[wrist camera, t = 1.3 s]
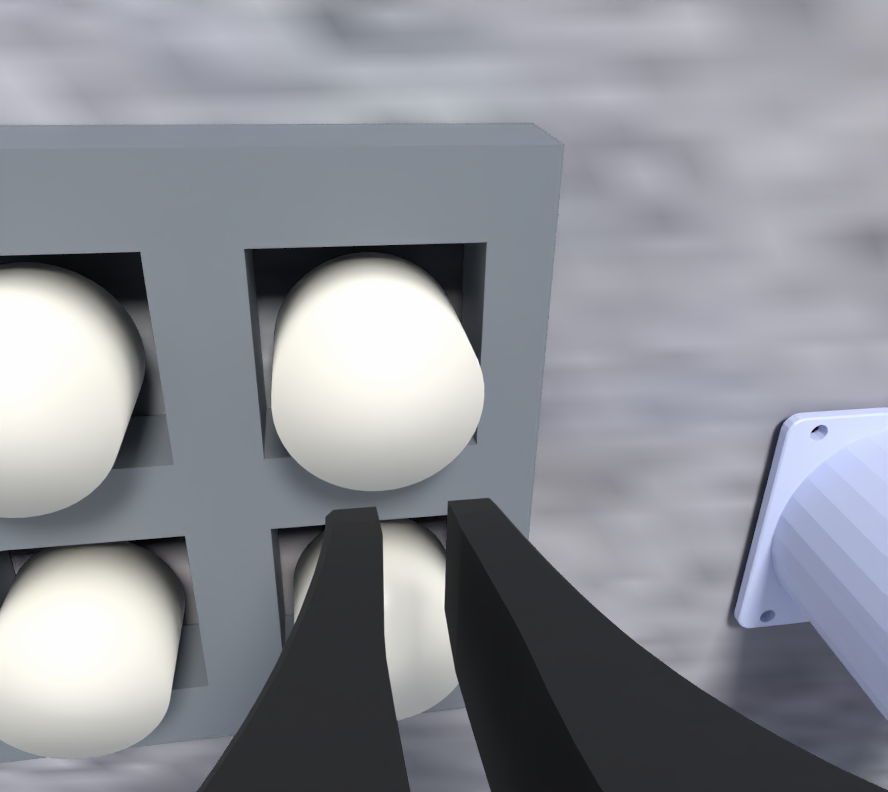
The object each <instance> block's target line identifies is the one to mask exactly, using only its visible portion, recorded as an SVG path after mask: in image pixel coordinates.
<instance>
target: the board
mask: <svg viewBox="0 0 888 792" xmlns="http://www.w3.org/2000/svg"><path fill="white" fill-rule="evenodd" d="M563 153H564V144H563V143H562V142H560V141H559V140H557V139H556V138H554V137H553V136H551V135H550V134H548V133H547V132H545V131H544V130H542V129H541V128H539V127H538V126H536V125H535V124H533V123H525V124H276V125H28V126H0V256H5V255H41V254H78V253H115V252H140V254H141V260H142V266H143V273H144V279H145V286H146V292H147V298H148V305H149V311H150V317H151V324H152V330H153V336H154V343H155V349H156V355H157V362H158V368H159V374H160V381H161V387H162V393H163V400H164V406H165V412H166V415H153V416H136V417H130V420H129V423H128V426H127V429H126V432H125V434H124V437H123V440H122V443H121V446H120V449H119V452H118V454H117V457H116V459H115V462H114V465H113V467H112V468H111V470H110V472H109V473H108V475H107V477H106V478H105V479H104V480H103V481H102V483H101V484H100V485H99V486H98V487H97V488H96V489H95V490H94V491H92V492H91V493H90V494H89V495H88V496H86V497H85V498H83V499H82V500H80V501H79V502H77V503H75V504H73V505H71V506H69V507H67V508H64V509H61V510H59V511H56V512H53V513H49V514H45V515H40V516H33V517H26V518H2V517H0V609H1V607H2V605H3V603H4V600H5V598H6V596H7V594H8V591H9V589H10V587H11V585H12V582H13V580H14V578H15V573H14V569H13V566H12V562H11V559H10V555H9V552H8V550H16V549H29V548H41V547H54V546H66V545H78V544H91V543H103V542H116V541H128V540H141V539H153V538H165V537H178V536H185V539H186V546H187V552H188V558H189V565H190V571H191V578H192V584H193V590H194V597H195V603H196V609H197V616H198V622H199V624H193V625H182V629H181V635H180V641H179V648H178V654H177V660H176V666H175V672H174V678H173V684H172V690H171V697H170V702H169V706H168V709H167V712H166V714H165V716H164V718H163V719H162V721H161V722H160V723H159V725H158V726H157V727H156V728H155V729H154V730H153V731H152V732H151V733H150V734H149V735H148V736H146V737H145V738H144V739H142V740H141V741H139V742H137V743H136V744H134V745H132V746H130V747H128V748H131V747H139V746H148V745H156V744H165V743H173V742H181V741H190V740H198V739H207V738H215V737H224V736H232V735H235V734H236V733H237V731H238V730H239V728H240V727H241V725H242V724H243V722H244V720H245V719H246V717H247V715H248V714H249V712H250V710H251V708H252V707H253V705H254V703H255V701H256V700H257V698H258V696H259V695H260V693H261V691H262V689H263V687H264V685H265V684H266V682H267V680H268V678H269V676H270V674H271V672H272V670H273V668H274V667H275V665H276V663H277V661H278V659H279V656H280V654H281V652H282V650H283V648H284V646H285V643H286V641H287V639H288V637H289V635H290V632H291V630H292V628H293V626H294V615H285V607H284V596H283V585H282V573H281V562H280V551H279V540H278V529H277V528H290V527H302V526H315V525H325V517H326V516H327V515H328V514H329V513H330V512H331V511H332V510H337V509H350V508H363V507H376V509H377V512H378V516H379V520H389V519H402V518H414V517H427V516H439V515H447V508H448V501H453V500H466V499H479V498H490V499H491V500H492V501H493V502H494V503H495V504H496V505H497V506H498V507H499V508H500V509H501V510H502V512H503V513H504V514H505V515H506V516H507V517H508V518H509V520H510V521H511V522H512V523H513V524H514V525H515V526H516V527H517V529H518V530H519V531H520V532H521V533H522V534H523V535H524V536H525V537H526V539H527V540H528V537H529V526H530V515H531V504H532V493H533V482H534V471H535V460H536V450H537V439H538V428H539V417H540V406H541V395H542V384H543V373H544V362H545V351H546V340H547V329H548V318H549V307H550V296H551V285H552V274H553V263H554V252H555V241H556V230H557V219H558V208H559V197H560V186H561V175H562V164H563ZM443 243H464V269H463V296H462V323H461V325H462V327H463V329H464V331H465V334H466V336H467V338H468V340H469V342H470V344H471V346H472V349H473V351H474V353H475V355H476V357H477V359H478V362H479V365H480V368H481V371H482V375H483V381H484V404H483V410H482V414H481V417H480V421H479V423H478V426H477V428H476V430H475V432H474V434H473V436H472V438H471V439H470V441H469V443H468V444H467V445H466V446H465V448H464V449H463V450H462V452H461V453H460V454H459V455H458V456H457V457H456V458H455V459H454V460H453V461H452V462H451V463H449V464H448V465H447V466H446V467H444V468H443V469H442V470H440V471H439V472H437V473H435V474H434V475H432V476H430V477H428V478H426V479H424V480H422V481H420V482H418V483H415V484H412V485H409V486H406V487H402V488H398V489H393V490H385V491H360V490H352V489H348V488H343V487H340V486H337V485H333V484H330V483H328V482H326V481H324V480H322V479H320V478H318V477H316V476H315V475H313V474H311V473H310V472H308V471H307V470H306V469H304V468H303V467H302V466H301V465H300V464H298V463H297V461H296V460H295V459H294V458H293V457H292V456H291V455H290V454H289V452H288V451H287V449H286V448H285V447H284V445H283V444H282V442H281V440H280V438H279V436H278V434H277V431H276V428H275V425H274V421H273V416H272V410H271V409H267V407H266V396H265V385H264V374H263V363H262V352H261V340H260V329H259V318H258V307H257V296H256V285H255V274H254V263H253V252H252V249H261V248H297V247H334V246H370V245H407V244H443ZM460 708H466V707H465V703H464V700H463V696H462V693H461V690H460V686H459V684H458V685H457V686H456V687H455V689H454V690H453V691H452V692H451V693H450V694H449V695H448V696H446V697H445V698H444V699H443V700H442V701H440V702H439V703H437V704H436V705H434V706H433V707H431V708H429V709H428V710H426V711H424V712H421V713H426V712H435V711H443V710H451V709H460ZM38 758H46V757H44V756H38V755H35V754H31V753H27V752H25V751H22V750H19V749H17V748H15V747H13V746H10V745H8V744H6V743H5V742H3V741H2V740H0V763H4V762H13V761H21V760H29V759H38Z"/></svg>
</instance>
